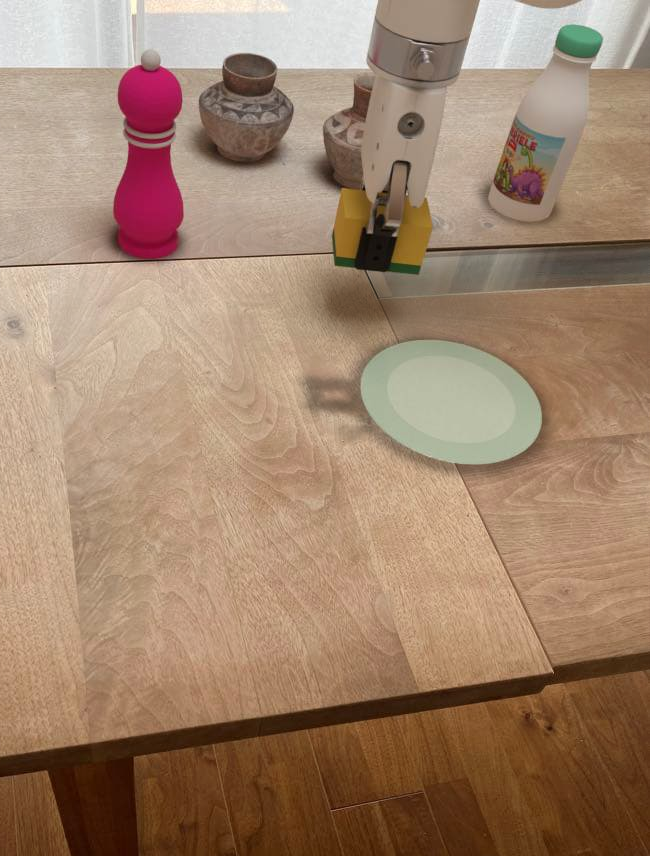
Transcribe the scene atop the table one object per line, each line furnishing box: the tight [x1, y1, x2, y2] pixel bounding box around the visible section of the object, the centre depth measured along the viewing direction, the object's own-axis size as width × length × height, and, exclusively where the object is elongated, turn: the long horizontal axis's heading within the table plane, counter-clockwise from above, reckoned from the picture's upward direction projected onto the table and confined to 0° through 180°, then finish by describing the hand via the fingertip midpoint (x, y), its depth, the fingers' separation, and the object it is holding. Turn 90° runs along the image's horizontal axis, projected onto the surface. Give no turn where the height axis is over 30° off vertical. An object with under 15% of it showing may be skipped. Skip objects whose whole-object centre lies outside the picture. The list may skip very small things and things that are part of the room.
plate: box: [360, 339, 543, 465], centre depth 83 cm, size 17×17×1 cm
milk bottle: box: [487, 24, 604, 222], centre depth 99 cm, size 8×8×20 cm
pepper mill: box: [112, 48, 185, 260], centre depth 87 cm, size 7×7×20 cm
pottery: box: [198, 52, 376, 190], centre depth 104 cm, size 11×25×12 cm, turn 74°
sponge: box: [331, 187, 434, 276], centre depth 82 cm, size 8×5×5 cm, turn 89°
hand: (369, 249), depth 84 cm, fingers closed on sponge, 5 cm apart
